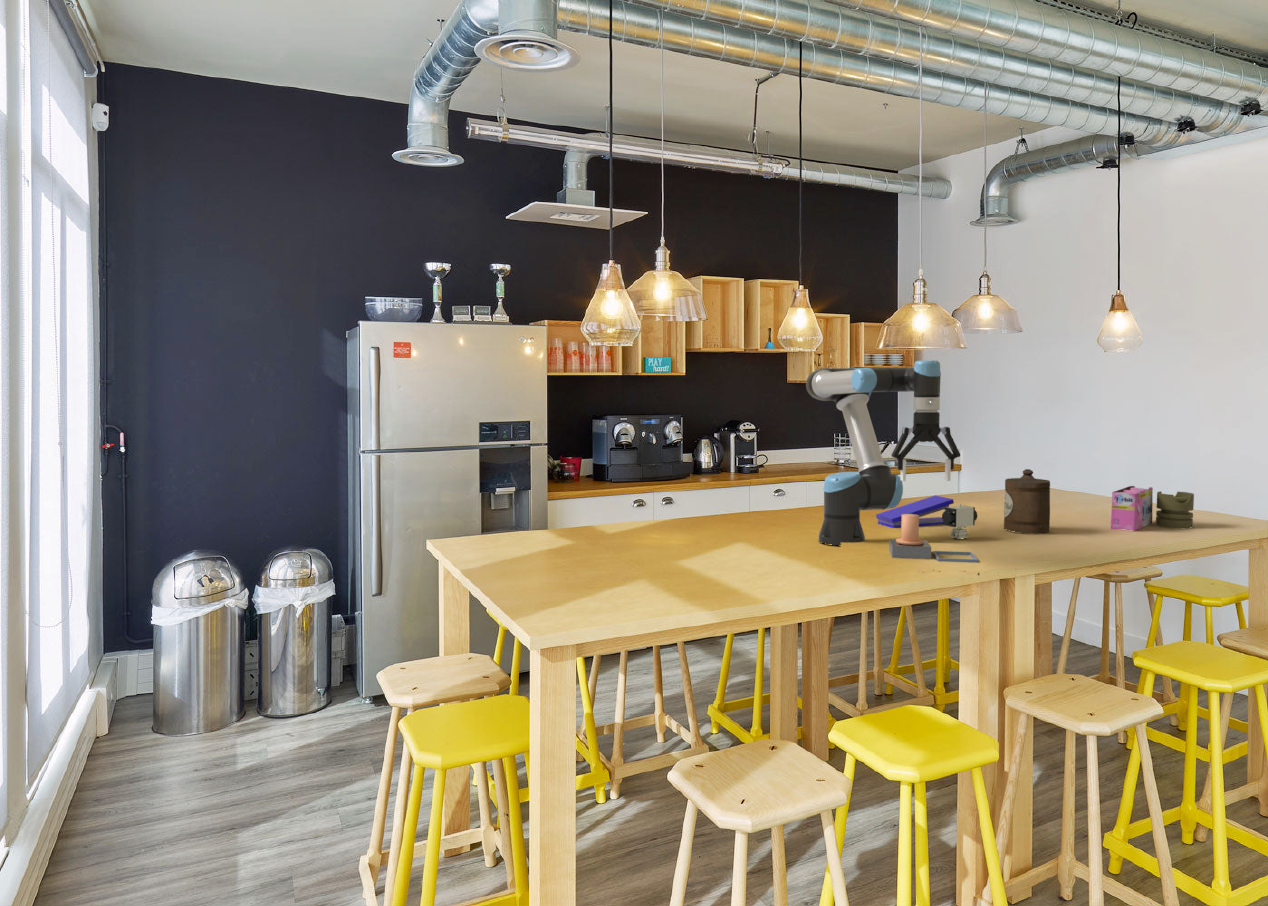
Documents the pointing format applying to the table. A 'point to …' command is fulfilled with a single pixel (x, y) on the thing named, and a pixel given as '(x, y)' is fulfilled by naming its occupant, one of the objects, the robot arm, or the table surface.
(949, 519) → the pneumatic valve
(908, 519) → the flanged copper cylinder
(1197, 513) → the table surface
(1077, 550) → the table surface
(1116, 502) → the gum box
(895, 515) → the stapler
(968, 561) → the blue-grey square frame
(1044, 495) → the wooden container
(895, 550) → the block
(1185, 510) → the piston
